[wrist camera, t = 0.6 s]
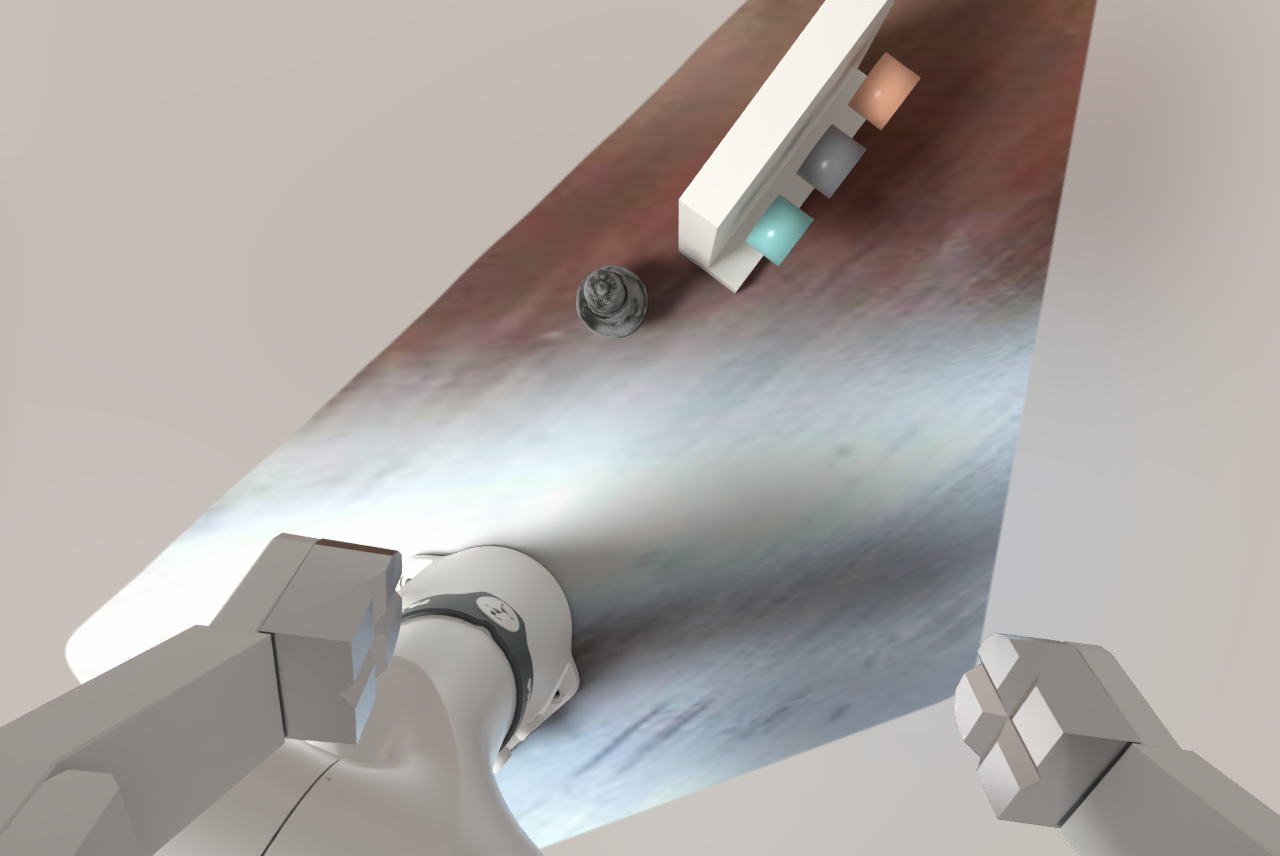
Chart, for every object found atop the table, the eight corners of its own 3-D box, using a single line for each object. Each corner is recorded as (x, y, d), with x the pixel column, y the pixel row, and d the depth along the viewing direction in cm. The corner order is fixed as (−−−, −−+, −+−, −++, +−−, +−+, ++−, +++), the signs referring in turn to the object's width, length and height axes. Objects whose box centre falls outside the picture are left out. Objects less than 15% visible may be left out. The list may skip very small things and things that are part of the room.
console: (734, 293, 59) (755, 256, 43) (678, 251, 60) (679, 199, 44) (881, 98, 58) (959, -14, 42) (823, 55, 58) (879, -73, 42)
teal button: (774, 270, 52) (782, 260, 48) (742, 246, 52) (748, 234, 48) (807, 227, 52) (818, 213, 48) (775, 203, 52) (783, 187, 48)
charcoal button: (824, 205, 52) (836, 189, 48) (792, 181, 52) (801, 163, 48) (858, 160, 52) (873, 141, 48) (825, 136, 52) (837, 114, 48)
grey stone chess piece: (659, 287, 60) (655, 260, 48) (635, 351, 60) (624, 341, 48) (596, 262, 60) (575, 230, 48) (571, 326, 60) (545, 310, 48)
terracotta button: (874, 138, 51) (891, 116, 47) (842, 114, 51) (856, 90, 47) (909, 93, 51) (928, 67, 47) (876, 68, 51) (892, 41, 47)
